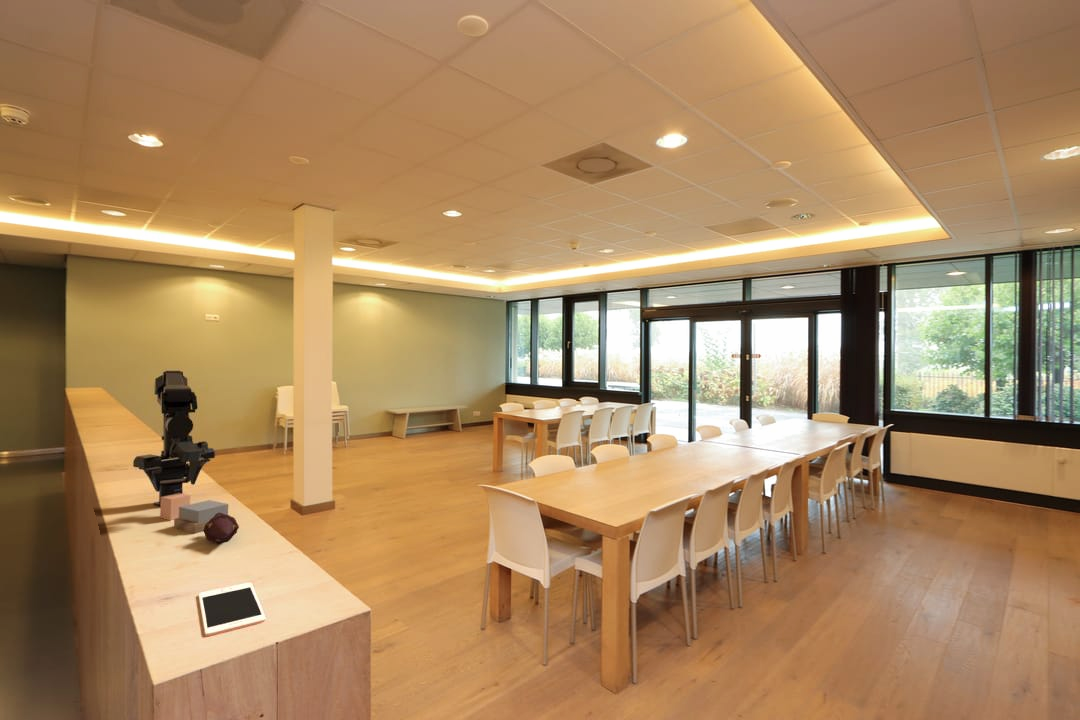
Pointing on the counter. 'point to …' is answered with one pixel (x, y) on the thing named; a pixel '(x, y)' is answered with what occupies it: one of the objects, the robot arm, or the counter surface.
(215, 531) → the maroon plush toy
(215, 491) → the counter surface
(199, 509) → the tower top
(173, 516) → the block
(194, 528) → the tower bottom
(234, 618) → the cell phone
